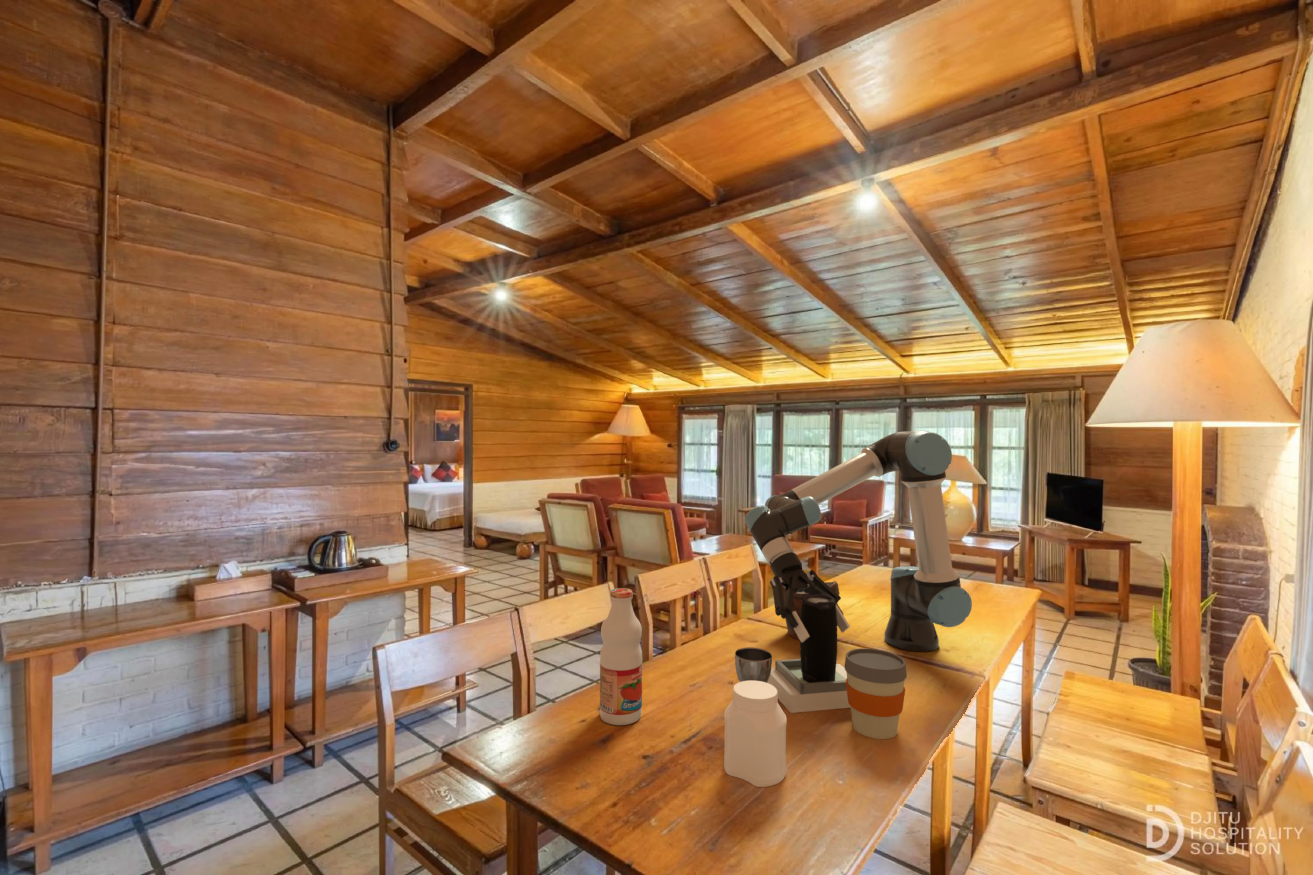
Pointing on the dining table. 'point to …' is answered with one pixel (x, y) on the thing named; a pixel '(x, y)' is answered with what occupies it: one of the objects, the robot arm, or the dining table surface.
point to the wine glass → (753, 664)
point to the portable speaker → (819, 638)
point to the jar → (755, 734)
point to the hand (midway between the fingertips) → (826, 634)
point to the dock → (808, 688)
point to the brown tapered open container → (798, 604)
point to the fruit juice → (621, 662)
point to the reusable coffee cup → (875, 691)
